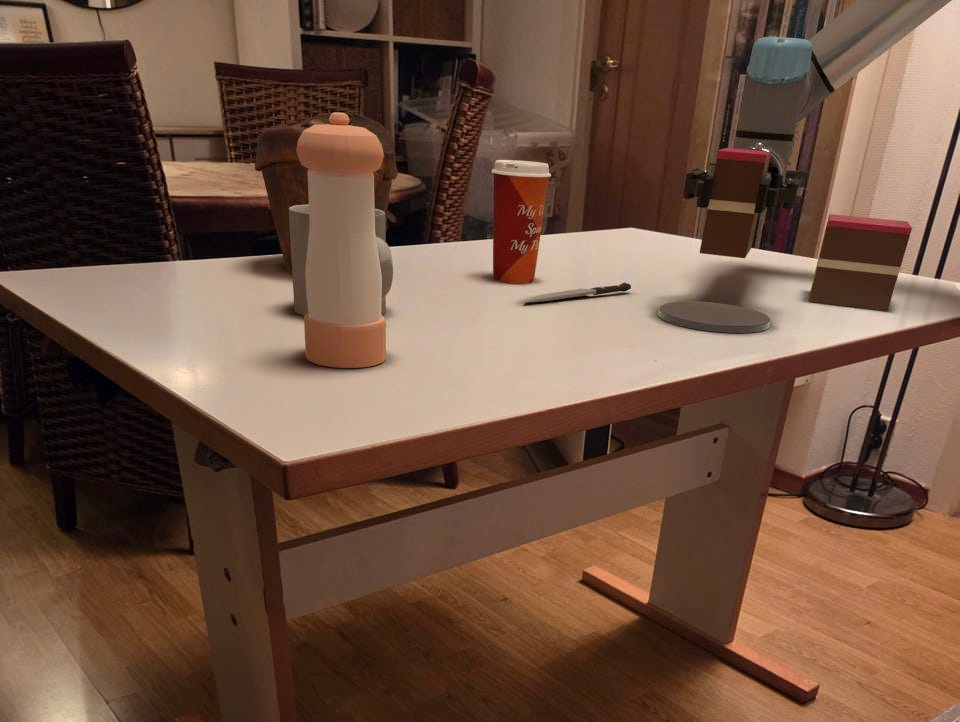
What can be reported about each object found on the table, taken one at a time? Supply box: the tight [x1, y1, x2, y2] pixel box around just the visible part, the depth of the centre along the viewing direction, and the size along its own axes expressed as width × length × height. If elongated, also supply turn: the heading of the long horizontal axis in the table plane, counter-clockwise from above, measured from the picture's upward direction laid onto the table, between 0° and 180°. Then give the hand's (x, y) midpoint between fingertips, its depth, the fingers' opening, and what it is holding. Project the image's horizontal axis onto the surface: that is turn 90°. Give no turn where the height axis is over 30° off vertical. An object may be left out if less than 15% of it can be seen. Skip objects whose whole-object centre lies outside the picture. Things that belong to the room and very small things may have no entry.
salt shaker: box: [296, 111, 387, 369], centre depth 74 cm, size 7×7×19 cm
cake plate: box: [657, 300, 771, 334], centre depth 102 cm, size 13×13×1 cm
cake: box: [808, 213, 913, 312], centre depth 115 cm, size 10×8×10 cm
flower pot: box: [254, 112, 399, 272], centre depth 111 cm, size 18×20×18 cm
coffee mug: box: [289, 204, 394, 317], centre depth 91 cm, size 13×10×10 cm
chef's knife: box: [523, 281, 632, 303], centre depth 109 cm, size 19×1×3 cm
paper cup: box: [490, 159, 552, 284], centre depth 113 cm, size 8×8×14 cm
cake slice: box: [699, 147, 771, 259], centre depth 95 cm, size 5×8×10 cm, turn 160°
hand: (732, 195), depth 91 cm, fingers closed on cake slice, 5 cm apart
